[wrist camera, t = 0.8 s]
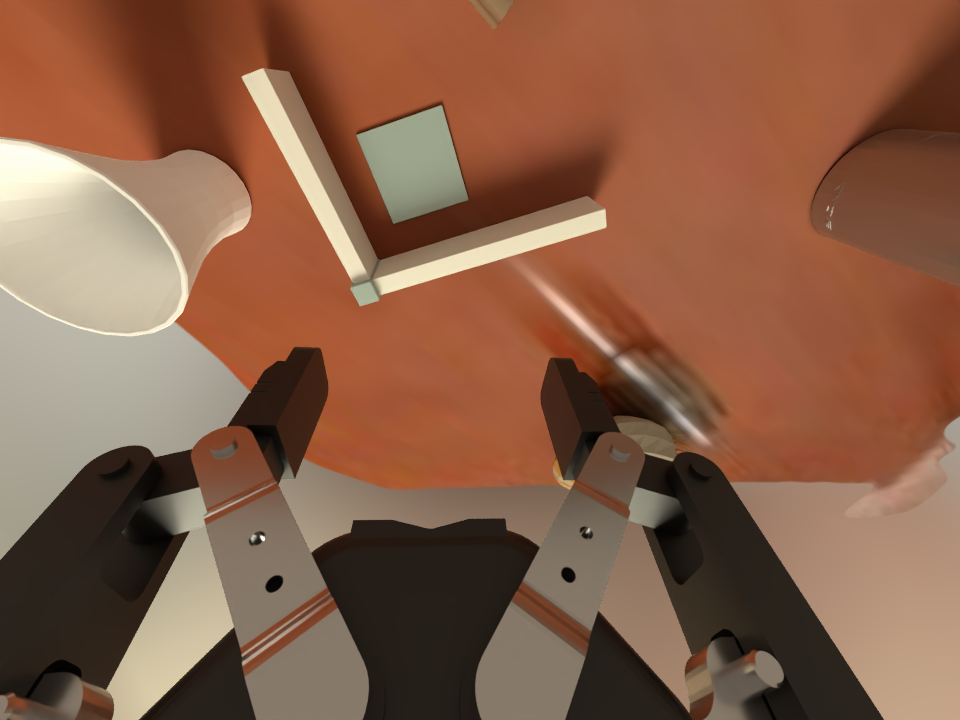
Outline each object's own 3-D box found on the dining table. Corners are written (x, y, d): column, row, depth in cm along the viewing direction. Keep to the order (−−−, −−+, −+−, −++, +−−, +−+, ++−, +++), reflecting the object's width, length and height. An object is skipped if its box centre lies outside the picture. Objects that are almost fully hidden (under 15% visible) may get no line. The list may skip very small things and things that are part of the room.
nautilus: (708, 412, 51) (645, 470, 60) (581, 389, 45) (531, 458, 54) (745, 459, 45) (669, 516, 54) (605, 441, 39) (544, 508, 48)
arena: (566, -35, 23) (593, -62, 19) (589, 214, 33) (609, 231, 29) (268, 79, 26) (233, 76, 21) (370, 280, 35) (360, 306, 31)
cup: (101, 118, 26) (-142, 136, 15) (250, 118, 27) (118, 136, 16) (174, 257, 32) (38, 340, 22) (293, 255, 33) (219, 334, 22)
